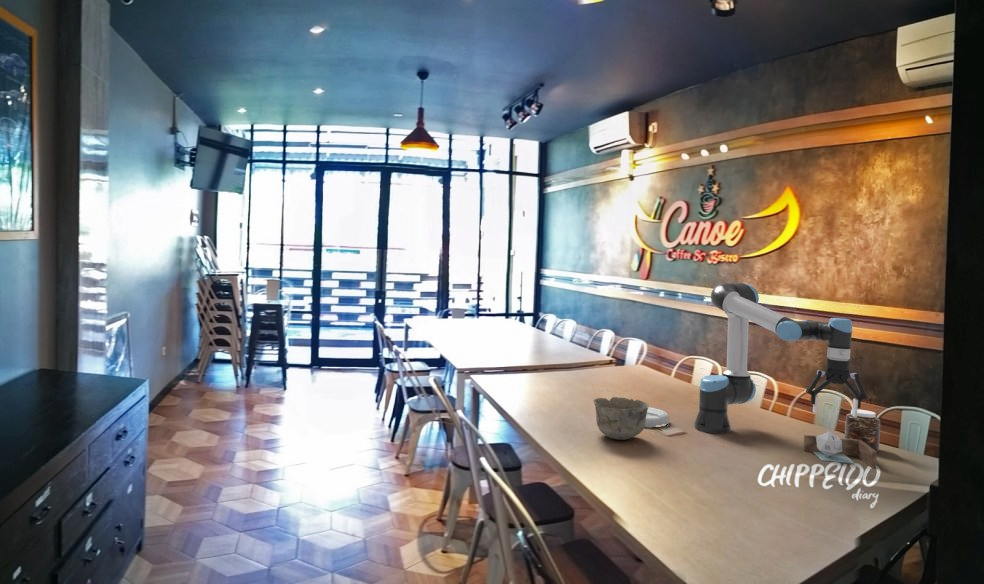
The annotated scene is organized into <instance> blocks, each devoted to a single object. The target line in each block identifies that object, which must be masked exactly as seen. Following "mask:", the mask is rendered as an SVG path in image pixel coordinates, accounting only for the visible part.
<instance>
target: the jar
mask: <svg viewBox="0 0 984 584" xmlns="http://www.w3.org/2000/svg"><path fill="white" fill-rule="evenodd" d="M852 410H853V408H852V409H851V410H850V413H848V414H846V415H845V423H844V424H845V425H844V438H845V439H856V440H862V441H863V442H864V443H866V444H867V445H868V446H870V447H871V448H872V449H874V450H875V451H877V453H879V451H880V441H881V440H880V438H881V437H880V436H881V420H880V418H878V417H876V412H874V411H871V410H866V409H860V408H857V417H854V416H852Z"/></svg>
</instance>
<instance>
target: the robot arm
mask: <svg viewBox="0 0 984 584" xmlns="http://www.w3.org/2000/svg"><path fill="white" fill-rule="evenodd" d="M759 299H760V296H759V293H758V291H757V289H755V287H754V286H753V285H752V284H749V283H742V282H738V283H736V282H735V283H734V282H722V283H718V284H717V285H716V286H715V287H713V289H712V291H711V293H710V300H711V303H712V305H714V307H715V308H717V309H719V310H721V311H722V312H724V314H725V315H726V316H727V339H726V340H727V341H726V342H727V344H726V345H727V346H726V369H725V370H724V371H723V372H722V374H721V375H720V374H719V375H718V374H714V375H713V374H709V375H704V376H703V377H701V378H700V384H699V399H698V400H699V404H698V405H699V407H698V413H697V414H696V417H695V420H694V426H693V427H695V428H694V429H696V430H697V431H700V432H704V433H709V434H720V435H721V434H722V435H724V434H725V435H726V434H729V433H731V431H732V426H731V422H730V418H729V414H728V405H742V404H745V403H749V402H750V401H752V400H753V399H754V398H755V395H756V392H757V387H756V383H754V380H753V379H752V377H751V375H752V374H751V373H749V372H748V355H749V354H748V352H749V347H748V346H749V322H751V323H754V324H756V325H757V326H761V327H762V328H764V329H766V330H768V331H770V332H773V333H774V334H776V335H777V336H778V338H779V339H780V340H782V341H787V342H795V341H797V342H799V341H819V342H827V350H826V351H827V352H826V353H827V354H826V357H827V359H826V364H825V365H826V367H825V368H826V369H825V371H824V370H820V369H817V370H816V373H815V376H814V377H813V379H812V380H811V382H810V383H809V384H808V387H807V388H806V389H805V393H806V394H808V395H810V404H811V405H812V412H813V414H818V405H819V404H818V401H819V396H818V394H819V393H820V392H821V391H823V389H824V388H826V387H827V386H828V385H829V384H831V383H832V384H834V385H837V384H839V385H843V384H844V386H846V388H847V389H848V390H849V392H850V393H851V394H852V395H853V396H854V397H855V398H853V399H852V409H853V410H852V409H851V410H852V416H854V417H857V409H861V406H862V405H861V403H862V400H865V399H867V398H868V396H867V394H866V392H865V389H864V388H863V385H862V384H861V381H860V376H859V373H857V372H852V373H850V366H851V365H850V364H851V363H850V362H851V361H850V359H851V345H852V334H853V321H852V319H849V318H841V317H831V318H830V319H829V321H828V322H827V321H819V320H814V319H813V320H812V319H802V320H795V319H793V318H790V317H787V316H785V315H783V314H781V313H779V312H777V311H775V310H772V309H769V308H767V307H765V306H763V305H761V304H759ZM823 376H825V379H823V381H821V382H820V379H821V378H822V377H823ZM849 378H851V379H852V380H853V382H854V384H855V387H856V388H857V391H856V389H855V388H854V387H853V386H852V384H851V383H850V382H849ZM819 382H820V383H819ZM818 383H819V385H817V384H818ZM816 385H817V386H816Z"/></svg>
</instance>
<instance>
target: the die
mask: <svg viewBox="0 0 984 584" xmlns="http://www.w3.org/2000/svg"><path fill="white" fill-rule="evenodd" d="M815 436H816V440H817V447H818V449H819V450H820V451H821V452H822V453H824V454H825V455H826V456H828V457H830V456H832V455H835V454H837V453H840V452H842V441H841V439H840V438H841V437H839V436H838V435H836V434H835V433H833V432H832V431H830V430H829V431H826V432H824V433H820V434H819V435H815Z"/></svg>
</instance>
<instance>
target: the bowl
mask: <svg viewBox="0 0 984 584" xmlns="http://www.w3.org/2000/svg"><path fill="white" fill-rule="evenodd" d="M593 403H594V406H595V407H594V408H595V413H596V414H595V419H596V420H595V421H596V425H597V428H598V430H599V431H600V432H601V433H602V434H603V435H605V436H606V437H608V438H610V439H612V440H616V441H626V440H629V439H632V438H634V437H636V436H638V435H640V434H641V433H642V432H643V431H644V429H645V428H646V427H645V420H646V414H647V410H648V407H650V406H649V404H648V403H647V402H646V401H643V400H639V399H635V400H634V399H632V398H630V399H629V398H626V397H618V396H617V397H616V396H613V397H611V398H609V399H607V398H606V397H599V398H598V397H597V398H595V399H593Z"/></svg>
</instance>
